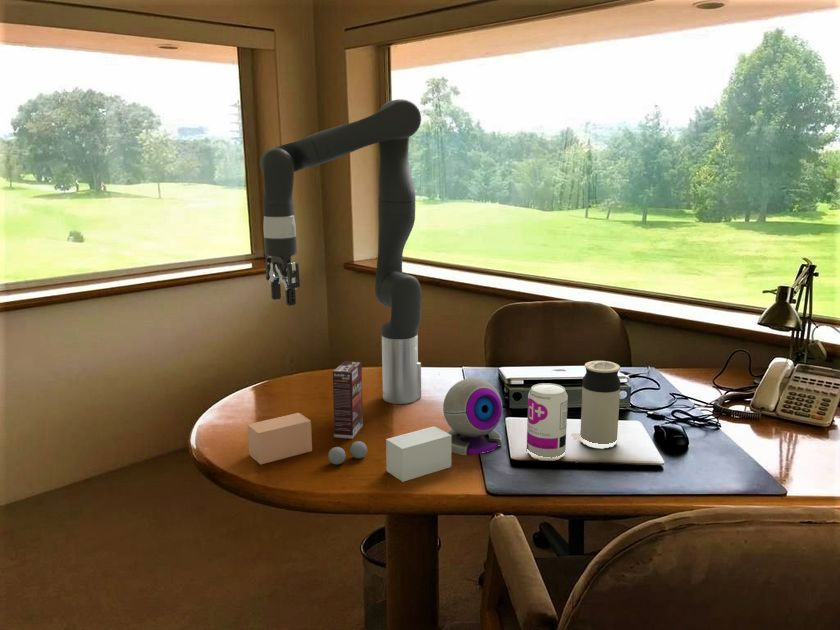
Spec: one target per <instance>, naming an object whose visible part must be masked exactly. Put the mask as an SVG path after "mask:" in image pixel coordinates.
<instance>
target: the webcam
mask: <svg viewBox="0 0 840 630" xmlns="http://www.w3.org/2000/svg"><path fill="white" fill-rule="evenodd" d="M442 407H443V408H442V410H443V416H444V418H445V421H446V422H447V425H448V426H449V427H450V428H451V429H449V430H448V431H446V432H447V433H448V434H450V435H451V453H454V454H458V455H460V456H468V455H480V454H479V453H482V452H487V451H491V450H493V449H495V448H496V447H497V446H498V445H500V446H501V445H502V446H503V439H502V436H501V434H500V432H498V431H496V430H495V429H496V427H497V426H498V425H499V423H500V422H501V418H502V416H503V401H502V398H501V396H500V394H499V392H498V390H497V389H496V388H495V387H494V386H493V385H492V384H491V383H490V382H488V381H486V380H483V379H481V378H476V377H475V378H474V377H470V378H469V377H468V378H464V379H462V380H460V381H458V382H456V383H455V384H453V385H452V386H451V387H450V388H449V389H448V391H447V393H446V395H445V397H444V399H443V405H442ZM498 447H499V446H498ZM498 447H497V448H498ZM497 448H496V449H497ZM496 449H495V450H496ZM493 451H494V450H493ZM491 452H492V451H491Z"/></svg>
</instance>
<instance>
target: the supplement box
mask: <svg viewBox="0 0 840 630" xmlns="http://www.w3.org/2000/svg"><path fill="white" fill-rule="evenodd" d="M362 363H363V362H362V361H352V360H351V361H350V360H349V361H348V360H346V361H345V360H343V362H342V363H341V364H340V365H339V366H338V367H336V368H335V369H334V370H332V400H333V401H332V402H333V437H334V438H337V439H347V438H348V439H350V440H353V439H354V437H355V436H356V435H357V434H358V432H359V431H360V429H362V427H363V426H364V424H363V423H364V420H363V419H364V418H363V417H364V415H363V376H362V375H363V372H362V370H363V369H362V368H363V366H362Z"/></svg>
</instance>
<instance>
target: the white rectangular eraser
mask: <svg viewBox="0 0 840 630" xmlns="http://www.w3.org/2000/svg"><path fill="white" fill-rule="evenodd" d="M447 432H448V431H445V430H443V429H440V428H439V427H437V426H431V427H426V428H422V429H419V430H414V431H411V432H408V433H404V434H399V435H395V436H392V437H390V438H386V439H385V448H386V450H385V452H386V454H385V455H386V459H385V460H386V472H387V473H389V474H390V475H391V476H393V477H395V478H396V479H398V480H399V481H401V482H402V483H405V482H406V481H411V480H413V479H417V478H420V477H423V476H425V475H429V474H430V475H431V474H433V473H436V472H439V471H442V470H445V469H449V468H451V467H452V452H451V435H450V434H448V433H447Z"/></svg>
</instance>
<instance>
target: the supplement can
mask: <svg viewBox="0 0 840 630" xmlns="http://www.w3.org/2000/svg"><path fill="white" fill-rule="evenodd" d="M568 397H569V396H568V393H567V392H566V388H565V387H564V386H562V385H561V384H557V383H550V382H549V383H547V382H546V383H545V382H542V383H541V382H540V383H537V384H534V385H532V386H531V388H530V390H529V391H528V394H527V423H526V424H527V425H526V426H527V427H526V431H527V432H526V450H527V449H528V450H529V451H530V452H532V453H534V454H536V455H538V456H543V457H551V458H552V457H556V456H557V457H558V456H560V455H562V454H563V453H564V452H565V453H566V451H567V449H566V446H567V445H566V444H567V424H568V423H567V421H568V420H567V419H568ZM565 450H566V451H565Z"/></svg>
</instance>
